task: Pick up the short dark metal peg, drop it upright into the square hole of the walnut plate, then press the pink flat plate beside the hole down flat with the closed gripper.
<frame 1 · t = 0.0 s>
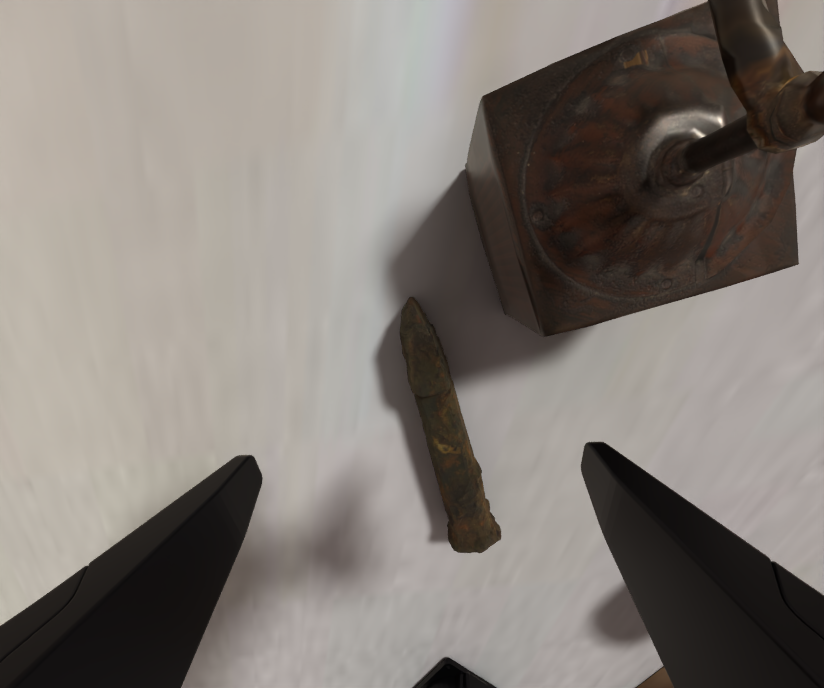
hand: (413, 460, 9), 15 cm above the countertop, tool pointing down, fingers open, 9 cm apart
hole plate: (751, 686, 29), on the countertop
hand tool: (437, 415, 26), on the countertop
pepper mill: (552, 177, 21), on the countertop
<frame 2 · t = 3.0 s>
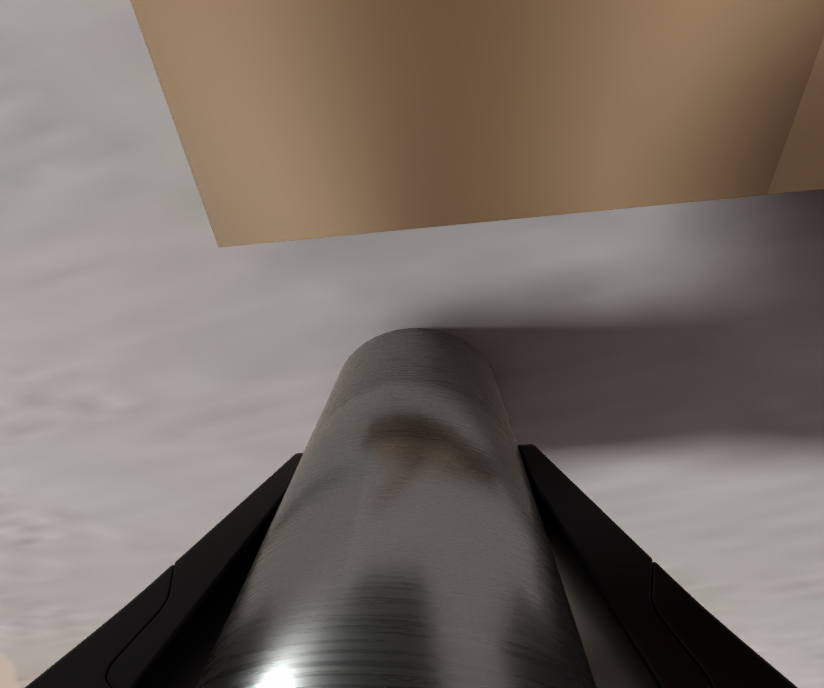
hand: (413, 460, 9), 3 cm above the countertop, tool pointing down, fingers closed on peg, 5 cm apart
peg: (416, 401, 11), on the countertop, touching gripper
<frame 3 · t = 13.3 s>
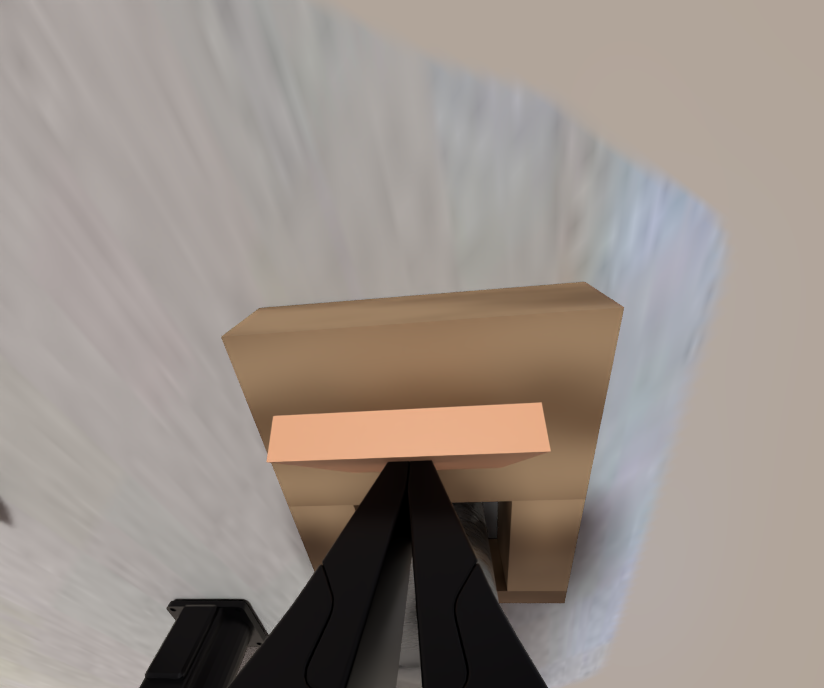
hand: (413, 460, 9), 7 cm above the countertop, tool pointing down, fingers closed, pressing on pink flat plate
hole plate: (430, 451, 18), on the countertop
peg: (435, 500, 20), resting in hole plate
pink flat plate: (417, 448, 10), point 6 cm above the countertop, hinge at 40.0°, touching gripper
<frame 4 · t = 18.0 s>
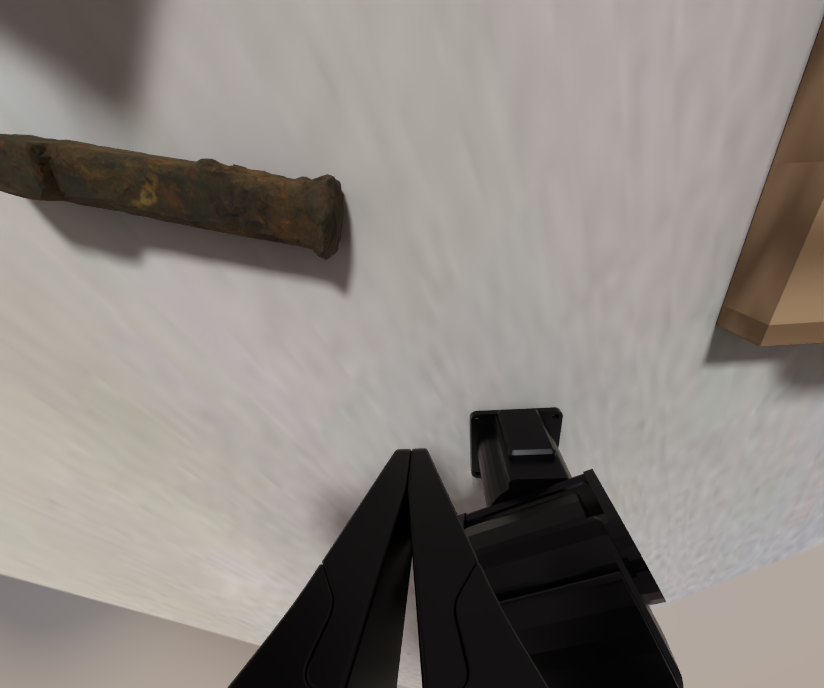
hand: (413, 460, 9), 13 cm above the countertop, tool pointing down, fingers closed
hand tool: (186, 195, 19), on the countertop
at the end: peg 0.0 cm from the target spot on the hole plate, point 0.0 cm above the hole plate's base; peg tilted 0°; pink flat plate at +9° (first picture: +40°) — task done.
